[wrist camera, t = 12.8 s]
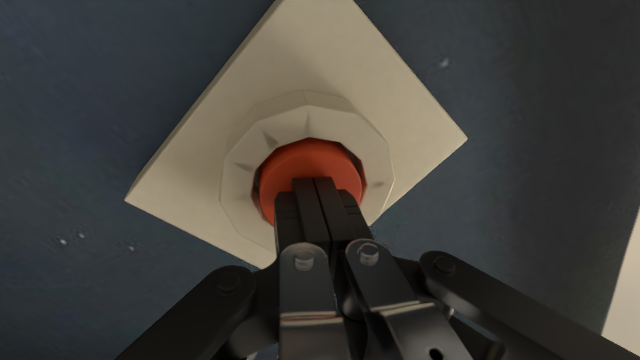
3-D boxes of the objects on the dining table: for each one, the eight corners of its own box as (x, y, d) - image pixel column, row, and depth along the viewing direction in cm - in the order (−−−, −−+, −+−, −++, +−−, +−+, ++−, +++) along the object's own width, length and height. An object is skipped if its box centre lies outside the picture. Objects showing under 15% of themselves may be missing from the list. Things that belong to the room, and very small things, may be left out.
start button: (302, 108, 13) (310, 129, 11) (366, 164, 15) (382, 189, 13) (239, 177, 14) (237, 205, 12) (307, 220, 16) (313, 250, 14)
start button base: (307, -41, 12) (328, -48, 9) (445, 121, 17) (492, 157, 14) (138, 174, 16) (106, 228, 12) (293, 259, 20) (301, 315, 17)
